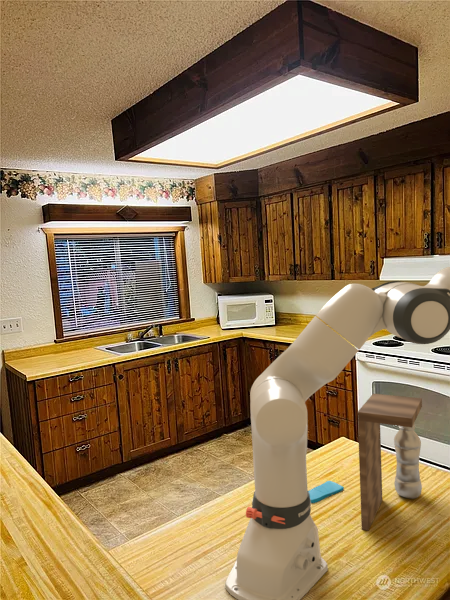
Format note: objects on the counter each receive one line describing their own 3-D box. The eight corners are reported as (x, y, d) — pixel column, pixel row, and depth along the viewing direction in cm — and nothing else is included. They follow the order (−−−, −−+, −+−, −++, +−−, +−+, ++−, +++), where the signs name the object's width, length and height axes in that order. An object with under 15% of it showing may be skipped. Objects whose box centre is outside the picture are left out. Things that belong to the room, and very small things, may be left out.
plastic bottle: (402, 486, 122) (400, 414, 121) (426, 495, 117) (425, 420, 116) (389, 495, 118) (387, 421, 117) (414, 504, 113) (412, 427, 112)
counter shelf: (414, 542, 98) (411, 418, 96) (361, 529, 104) (357, 411, 102) (424, 508, 111) (421, 398, 109) (376, 498, 117) (373, 393, 115)
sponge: (296, 492, 121) (311, 499, 116) (329, 479, 128) (344, 485, 123) (297, 498, 121) (312, 505, 116) (330, 484, 128) (345, 490, 123)
